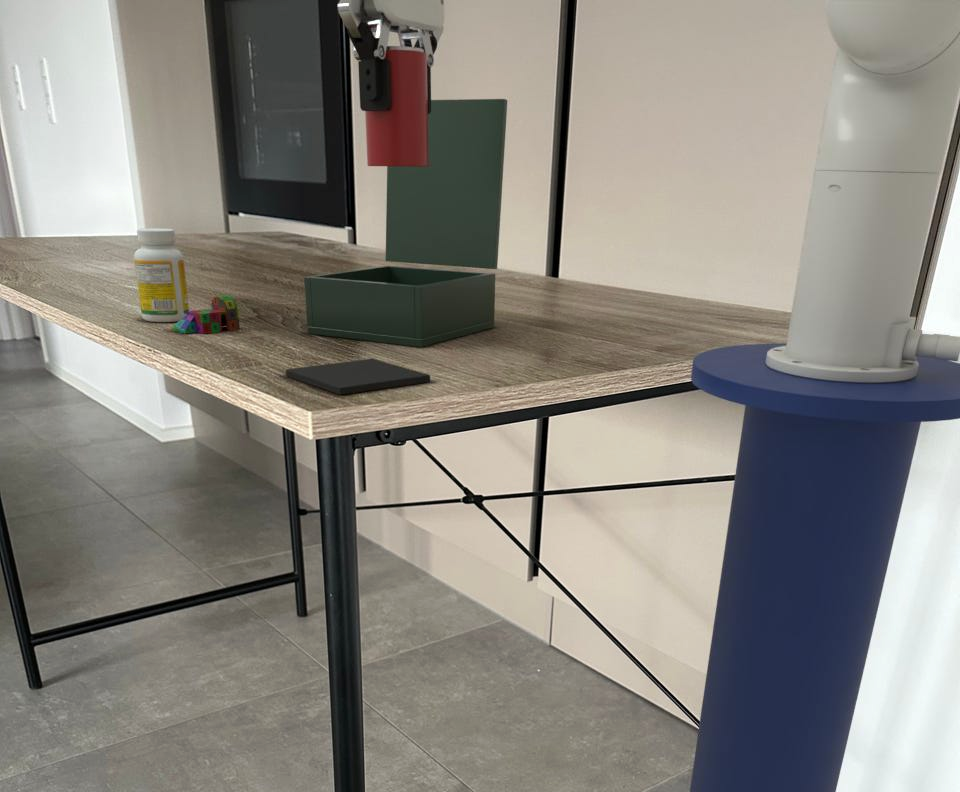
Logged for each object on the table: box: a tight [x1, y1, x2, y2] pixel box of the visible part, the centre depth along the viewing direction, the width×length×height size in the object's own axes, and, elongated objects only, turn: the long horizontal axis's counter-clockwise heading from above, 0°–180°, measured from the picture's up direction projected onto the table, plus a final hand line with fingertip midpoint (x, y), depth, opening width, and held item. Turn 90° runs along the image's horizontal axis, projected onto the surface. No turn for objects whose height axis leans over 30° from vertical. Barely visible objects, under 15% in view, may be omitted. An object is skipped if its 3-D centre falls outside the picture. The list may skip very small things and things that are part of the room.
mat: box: [285, 358, 431, 396], centre depth 81 cm, size 9×9×1 cm
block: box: [170, 295, 241, 335], centre depth 102 cm, size 6×4×3 cm
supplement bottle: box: [133, 227, 190, 323], centre depth 107 cm, size 5×5×10 cm
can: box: [364, 45, 429, 167], centre depth 90 cm, size 6×6×10 cm
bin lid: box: [385, 98, 508, 270], centre depth 106 cm, size 17×15×5 cm
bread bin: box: [303, 264, 496, 348], centre depth 103 cm, size 16×15×6 cm
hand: (396, 110), depth 90 cm, fingers closed on can, 6 cm apart
